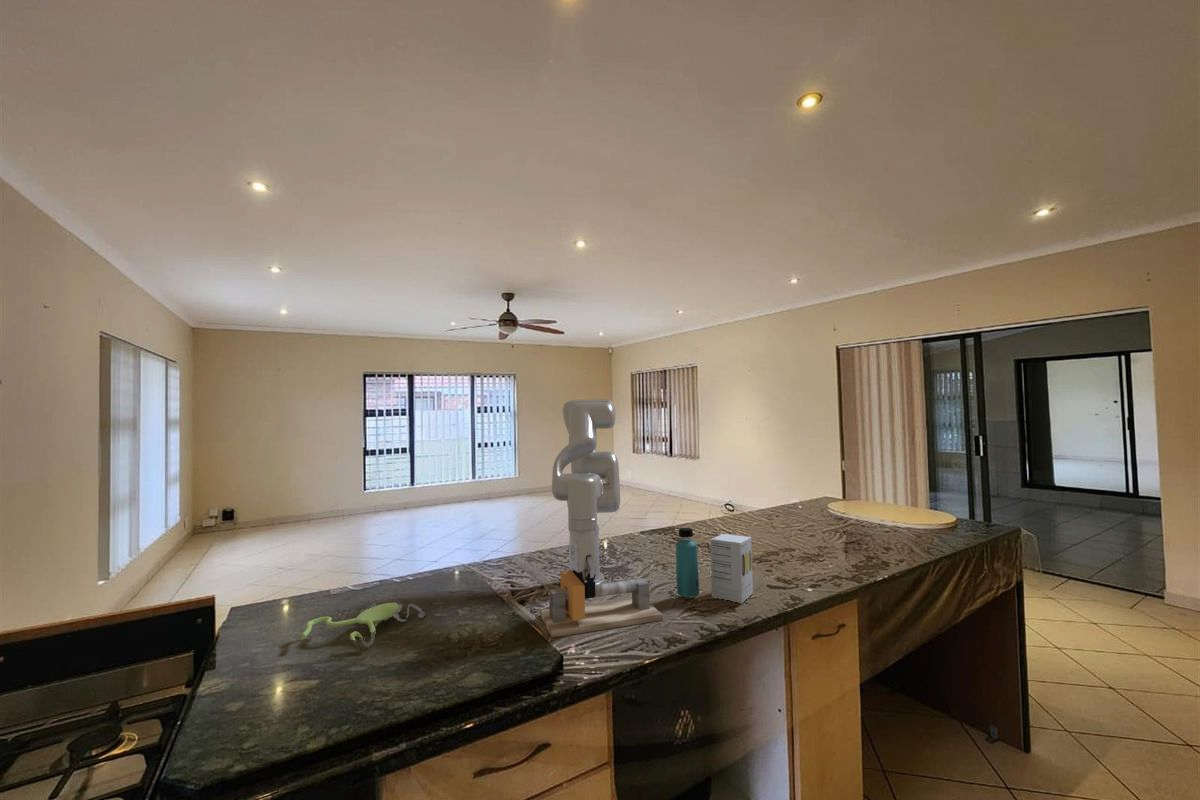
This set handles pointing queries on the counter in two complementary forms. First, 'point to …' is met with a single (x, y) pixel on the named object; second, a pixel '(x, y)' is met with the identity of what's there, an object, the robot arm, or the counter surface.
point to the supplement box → (731, 567)
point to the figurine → (357, 619)
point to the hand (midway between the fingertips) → (583, 591)
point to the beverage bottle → (687, 565)
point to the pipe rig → (601, 609)
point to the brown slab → (573, 595)
